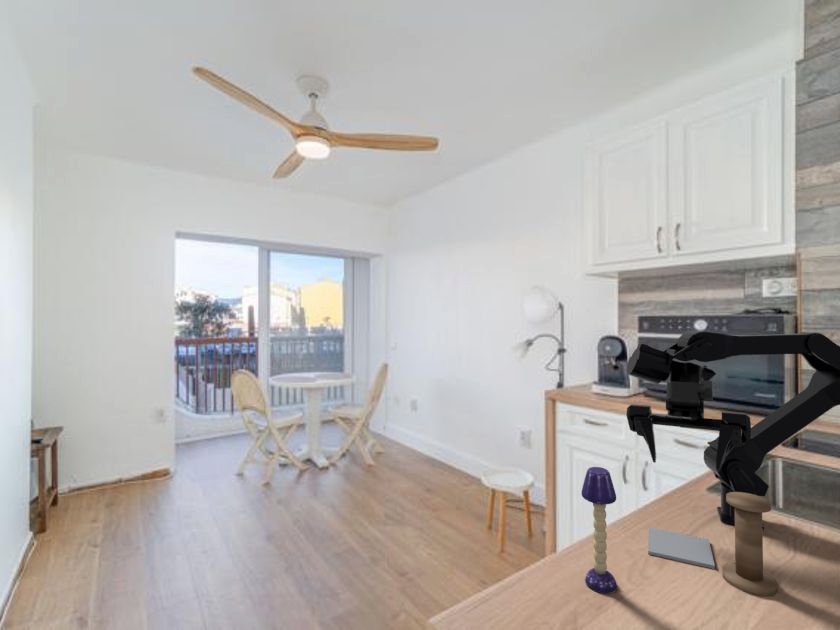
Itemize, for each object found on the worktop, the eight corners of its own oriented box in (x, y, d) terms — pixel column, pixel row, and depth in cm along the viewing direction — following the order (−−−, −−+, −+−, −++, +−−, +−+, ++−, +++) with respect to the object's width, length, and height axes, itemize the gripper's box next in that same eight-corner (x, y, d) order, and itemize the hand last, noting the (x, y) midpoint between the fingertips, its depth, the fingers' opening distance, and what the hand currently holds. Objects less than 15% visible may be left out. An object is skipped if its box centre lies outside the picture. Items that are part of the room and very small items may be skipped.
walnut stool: (719, 565, 67) (718, 487, 67) (772, 576, 64) (770, 495, 64) (725, 587, 61) (724, 503, 61) (783, 601, 58) (781, 512, 58)
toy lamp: (621, 597, 59) (619, 476, 59) (585, 593, 60) (584, 474, 60) (613, 577, 64) (611, 464, 64) (580, 573, 65) (578, 462, 65)
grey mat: (649, 530, 78) (649, 527, 78) (708, 542, 74) (708, 539, 74) (648, 554, 70) (648, 550, 70) (714, 569, 66) (714, 565, 66)
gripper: (626, 362, 83) (617, 433, 74) (747, 365, 72) (755, 448, 63) (633, 396, 89) (626, 465, 80) (746, 404, 79) (753, 484, 69)
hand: (684, 465), depth 73 cm, fingers open, 9 cm apart
